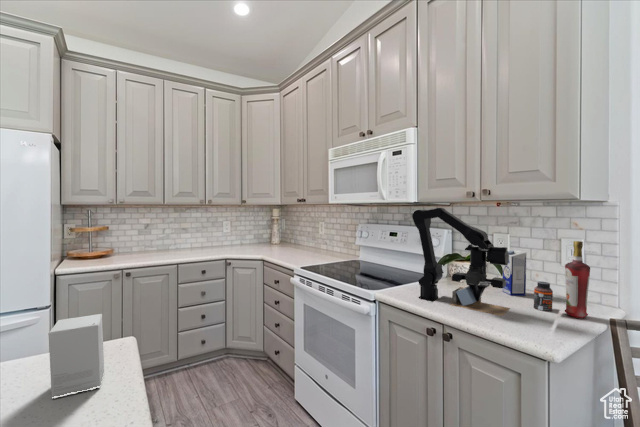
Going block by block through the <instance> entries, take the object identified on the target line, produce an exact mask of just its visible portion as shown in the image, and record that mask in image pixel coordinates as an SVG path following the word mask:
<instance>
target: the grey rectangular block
mask: <svg viewBox="0 0 640 427" xmlns="http://www.w3.org/2000/svg"><path fill="white" fill-rule="evenodd" d="M456 293H457V295H458V297H459V299H460V301H461V303H462V306H465V305H469V304H472V303H474V302H476V298H475V296H474V293H473V290H472V288H471V287H470V286H469V285H467V286H464V288H462V289H460V290H458V291H456ZM480 299H481V300H482V297H481V298H480Z"/></svg>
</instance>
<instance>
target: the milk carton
mask: <svg viewBox="0 0 640 427" xmlns="http://www.w3.org/2000/svg"><path fill="white" fill-rule="evenodd" d="M507 251H508V255H509V262H508V265H507V266H506V265H502V278H504V279H505V280H506V286H505V287H504V288H502V292H503V293H504V294H507V295H509V296H511V297H512V296H513V297H514V296H517V297H518V296H520V297H521V296H523V297H525V296H526V292H527V290H526V289H527V286H526V284H527V254H528V253H527V251H523V250H518V249H517V250H507Z"/></svg>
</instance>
